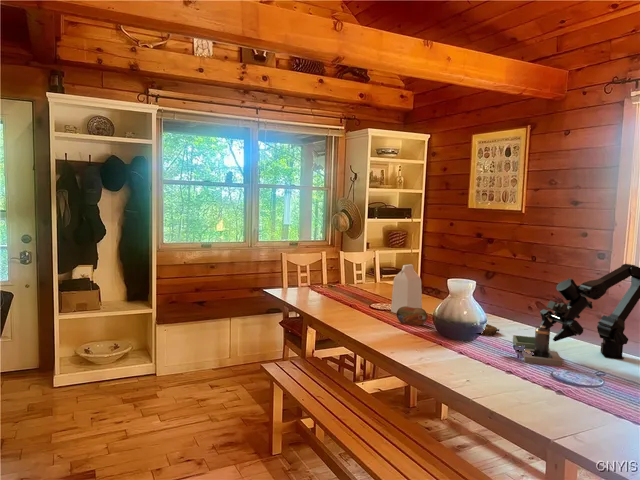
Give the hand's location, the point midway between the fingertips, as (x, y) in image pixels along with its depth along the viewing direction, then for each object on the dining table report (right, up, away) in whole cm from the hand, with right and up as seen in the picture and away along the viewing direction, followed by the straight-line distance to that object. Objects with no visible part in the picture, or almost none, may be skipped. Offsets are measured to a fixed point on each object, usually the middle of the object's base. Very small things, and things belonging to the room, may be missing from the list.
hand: (545, 336), depth 174 cm
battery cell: (-2, -9, +1) cm, 9 cm away
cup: (-1, -8, +13) cm, 15 cm away
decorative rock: (-11, -6, +37) cm, 39 cm away
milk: (-41, -2, +69) cm, 80 cm away
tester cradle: (-2, -9, +1) cm, 9 cm away
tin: (-42, -4, +48) cm, 64 cm away
